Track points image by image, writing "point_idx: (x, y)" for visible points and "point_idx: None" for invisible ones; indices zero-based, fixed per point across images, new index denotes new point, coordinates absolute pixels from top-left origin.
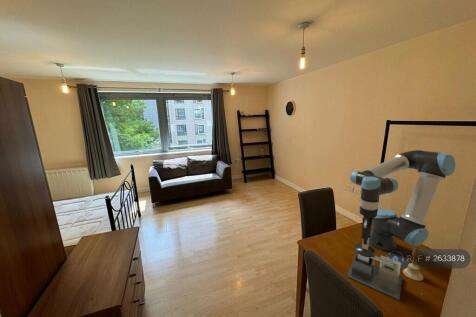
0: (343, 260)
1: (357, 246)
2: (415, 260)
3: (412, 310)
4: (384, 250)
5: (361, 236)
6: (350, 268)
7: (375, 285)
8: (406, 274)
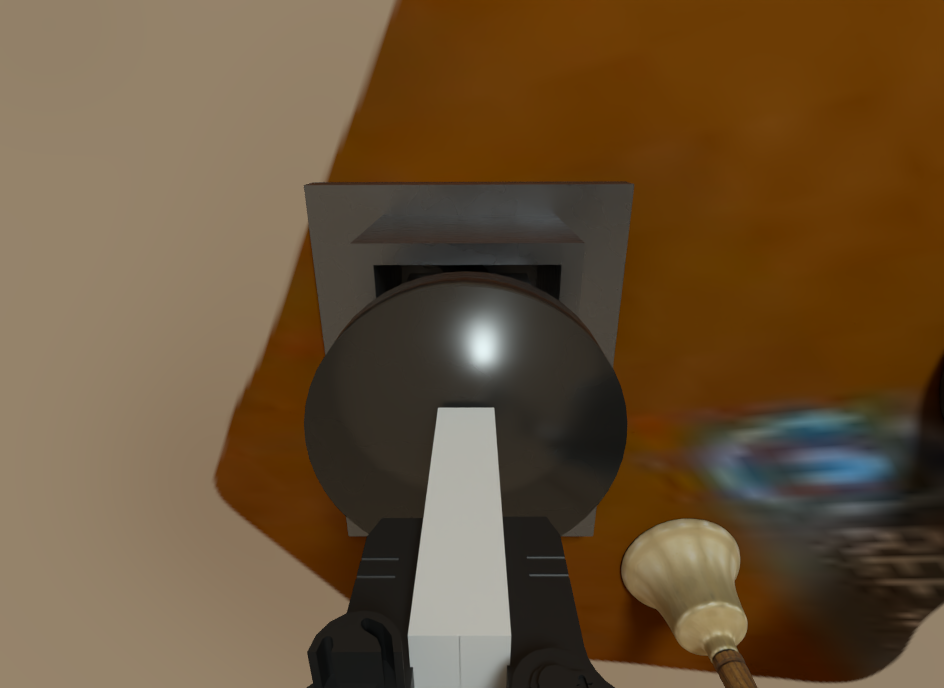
0: (547, 74)
1: (460, 328)
2: None
3: (326, 570)
4: (940, 393)
5: (335, 660)
6: (416, 191)
7: None
8: (647, 543)
